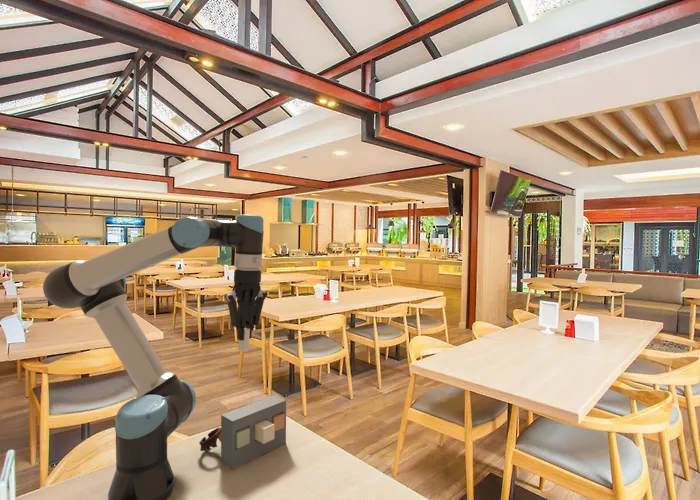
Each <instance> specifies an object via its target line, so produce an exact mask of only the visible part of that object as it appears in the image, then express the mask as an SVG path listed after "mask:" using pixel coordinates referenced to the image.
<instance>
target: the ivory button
mask: <svg viewBox="0 0 700 500" xmlns="http://www.w3.org/2000/svg"><path fill="white" fill-rule="evenodd" d="M255 439H256V440H258V441H259V442H261V443H263V444H264V443H267V442H269V441H271V440H273V439H274V424H273V423H271V422H269V421H267V420H265V419H264V420H262V421H259V422H257V423H255Z"/></svg>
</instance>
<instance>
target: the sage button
mask: <svg viewBox="0 0 700 500" xmlns="http://www.w3.org/2000/svg"><path fill="white" fill-rule="evenodd" d="M249 443H250V428H248V427H245V428H243V429H240V430H238V431H236V448H237V449H238V448H240V447H242V446H245V445H247V444H249Z"/></svg>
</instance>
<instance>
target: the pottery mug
mask: <svg viewBox="0 0 700 500" xmlns="http://www.w3.org/2000/svg"><path fill="white" fill-rule="evenodd" d="M218 440H219V442H220V443H221V426H220V427H216V428H215V429H213V430H212V431H210V432H209V433H207V437H206V436H203V438H202V439H201V440H200V441H199V442H198V443H199V445H200V452H205V453H208V450H209V449H210V448H217V447H218V445H217V442H218Z"/></svg>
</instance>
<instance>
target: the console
mask: <svg viewBox="0 0 700 500" xmlns="http://www.w3.org/2000/svg"><path fill="white" fill-rule="evenodd" d="M279 413H283V414H284V428H282V429H280V430H278V431H275V432H274V439H273V440H271V441H269V442H267V443H264V444H263V443H261V442H259V441H258V440H256V439H255V423H257V422H259V421H262V420H264V419H265V420H267V421H269V422H271V423H272V416H274V415H276V414H279ZM220 420H221V421H220V428H221V442H220V463H222V464H224V465H225V466H226V467H228V468H230V470H234V469H237V468H238V467H240V466H242V465H244V464H247V463H248V462H251V461H253V460H255V459H256V458H258V457H261V456H263V455H264V454H266V453H267V454H268V453H269V452H271V451H273V450H275V449H277V448H279V447H281V446H283V445H285V444H286V443H287V400H286V399H285V398H282V397H280V396H277V395H271V396H268V397H266V398H264V399H261V400H258V401H255V402H253V403H249V404H247V405H244V406H242V407H239V408H236V409H233V410H231V411H228V412H225V413H222V414H220ZM245 427H248V428H250V443H249V444H247V445H245V446H242V447H240V448H238V449H237V448H236V431H238V430H240V429H243V428H245Z"/></svg>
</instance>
